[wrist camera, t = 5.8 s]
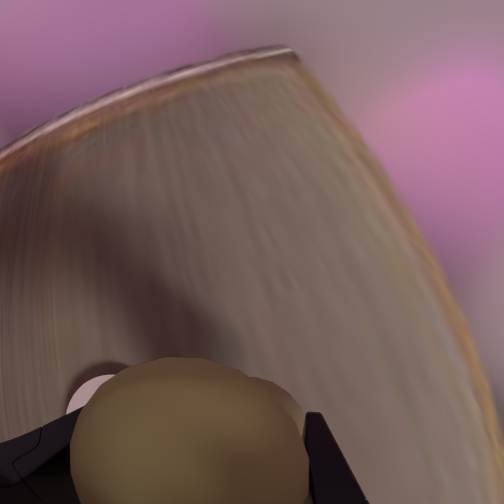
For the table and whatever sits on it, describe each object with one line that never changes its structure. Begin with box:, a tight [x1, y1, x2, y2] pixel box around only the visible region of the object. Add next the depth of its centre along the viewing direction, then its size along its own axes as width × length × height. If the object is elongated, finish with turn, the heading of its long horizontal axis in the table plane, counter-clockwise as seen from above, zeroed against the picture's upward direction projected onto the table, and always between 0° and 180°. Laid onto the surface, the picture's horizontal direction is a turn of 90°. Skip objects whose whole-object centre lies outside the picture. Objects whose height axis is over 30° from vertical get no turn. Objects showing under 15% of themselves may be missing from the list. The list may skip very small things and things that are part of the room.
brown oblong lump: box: [70, 357, 309, 504], centre depth 9 cm, size 6×6×11 cm
